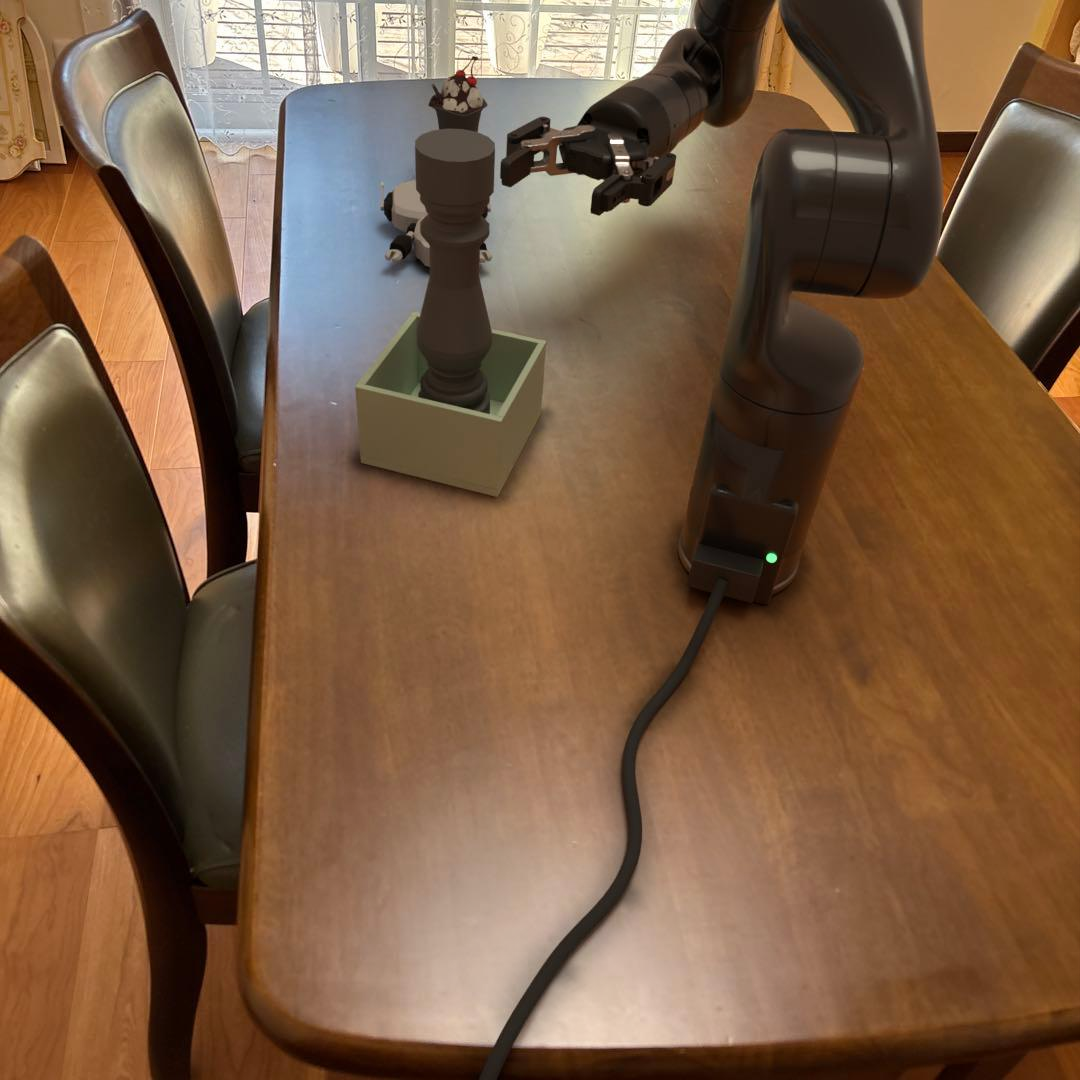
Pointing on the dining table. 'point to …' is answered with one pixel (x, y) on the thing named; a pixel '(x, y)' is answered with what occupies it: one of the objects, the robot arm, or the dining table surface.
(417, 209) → the robot toy
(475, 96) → the sundae
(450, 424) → the bin
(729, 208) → the dining table surface
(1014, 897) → the dining table surface
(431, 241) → the candle holder
